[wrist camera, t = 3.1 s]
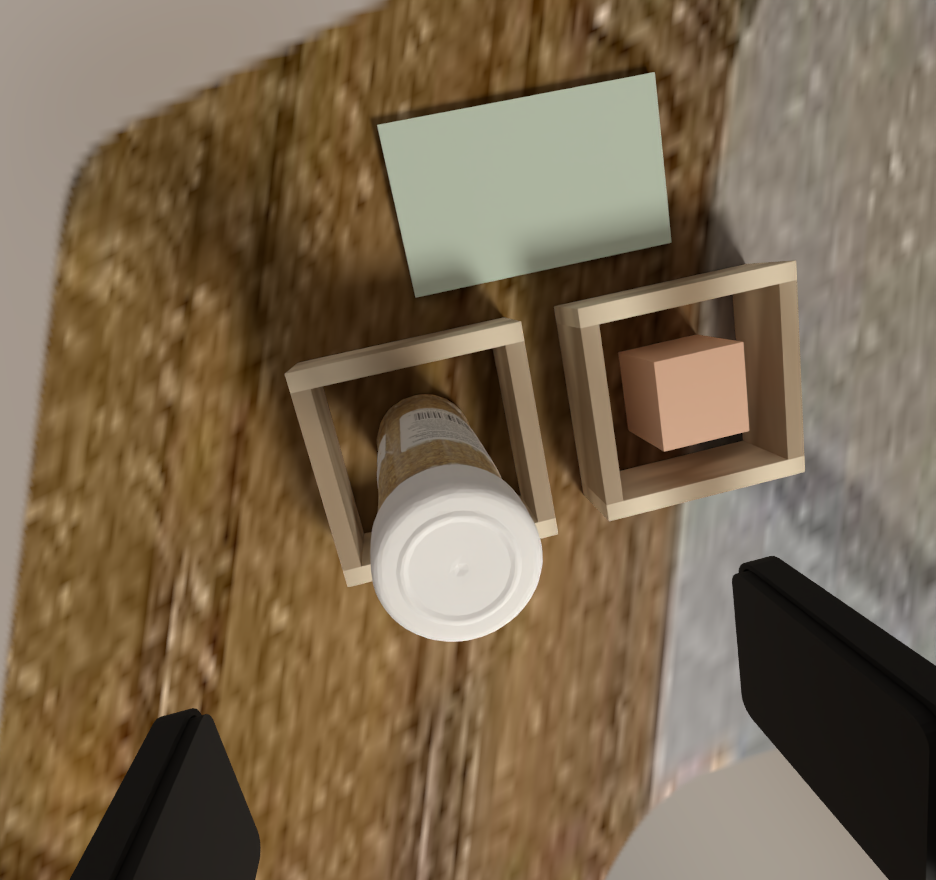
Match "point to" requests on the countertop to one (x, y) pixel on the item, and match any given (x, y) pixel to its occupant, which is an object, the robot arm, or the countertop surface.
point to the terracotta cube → (685, 390)
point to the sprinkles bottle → (447, 527)
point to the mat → (528, 183)
